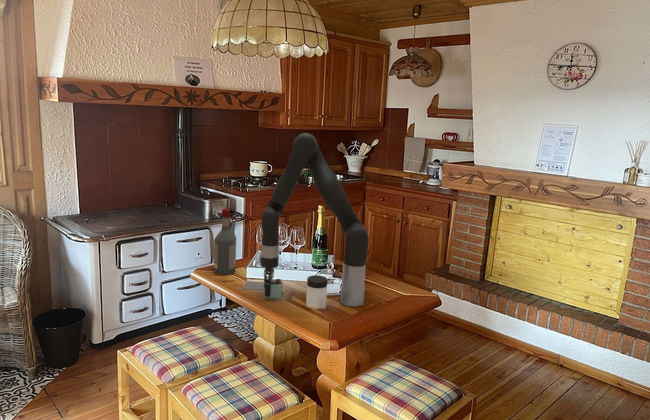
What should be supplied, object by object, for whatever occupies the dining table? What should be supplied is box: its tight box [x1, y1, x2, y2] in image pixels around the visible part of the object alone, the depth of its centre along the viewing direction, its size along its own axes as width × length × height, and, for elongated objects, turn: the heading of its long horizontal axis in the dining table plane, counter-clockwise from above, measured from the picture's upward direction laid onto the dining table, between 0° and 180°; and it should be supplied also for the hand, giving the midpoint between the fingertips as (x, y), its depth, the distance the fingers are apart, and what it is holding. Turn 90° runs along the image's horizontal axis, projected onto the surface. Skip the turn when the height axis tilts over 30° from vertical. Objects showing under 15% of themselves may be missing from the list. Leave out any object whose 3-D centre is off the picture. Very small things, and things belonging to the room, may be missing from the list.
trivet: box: [243, 280, 264, 291], centre depth 214 cm, size 9×9×1 cm
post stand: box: [261, 278, 293, 302], centre depth 204 cm, size 12×9×8 cm
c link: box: [262, 279, 283, 299], centre depth 204 cm, size 7×6×6 cm
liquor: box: [213, 208, 237, 276], centre depth 228 cm, size 9×9×30 cm
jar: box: [305, 274, 328, 310], centre depth 197 cm, size 9×8×12 cm
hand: (268, 292), depth 205 cm, fingers closed on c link, 6 cm apart
